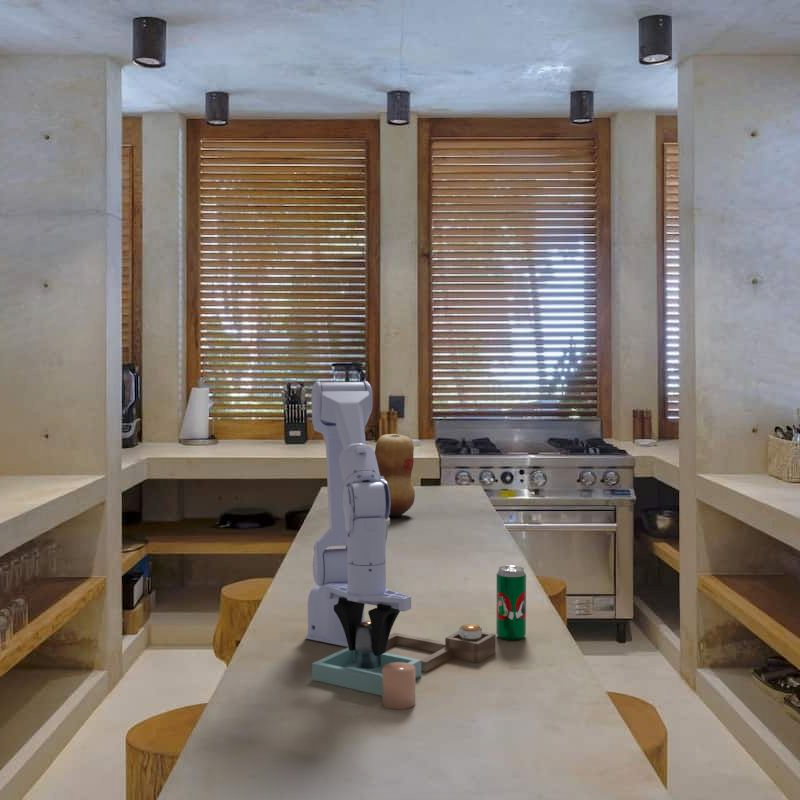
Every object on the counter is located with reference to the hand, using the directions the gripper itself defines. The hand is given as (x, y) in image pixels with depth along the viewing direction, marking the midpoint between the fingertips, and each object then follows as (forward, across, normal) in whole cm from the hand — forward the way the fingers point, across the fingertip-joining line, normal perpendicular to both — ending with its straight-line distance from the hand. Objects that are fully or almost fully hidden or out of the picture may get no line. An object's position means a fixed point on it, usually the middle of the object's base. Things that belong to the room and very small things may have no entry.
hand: (367, 651), depth 139 cm
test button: (+2, +8, +18) cm, 20 cm away
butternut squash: (+4, -74, +121) cm, 142 cm away
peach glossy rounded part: (+4, +10, -6) cm, 12 cm away
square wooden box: (+4, +8, +18) cm, 20 cm away
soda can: (+4, +10, +30) cm, 32 cm away
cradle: (+4, 0, +12) cm, 12 cm away
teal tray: (+4, 0, 0) cm, 4 cm away
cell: (+2, 0, 0) cm, 2 cm away
